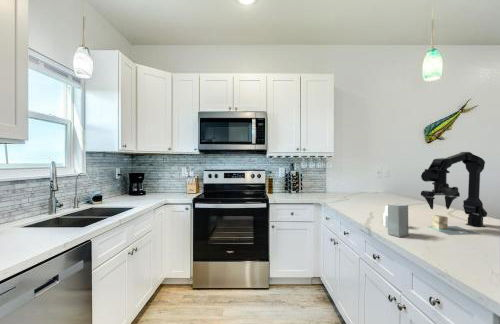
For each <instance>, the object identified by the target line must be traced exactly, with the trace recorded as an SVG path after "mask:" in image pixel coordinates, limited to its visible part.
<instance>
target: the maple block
mask: <svg viewBox="0 0 500 324" xmlns="http://www.w3.org/2000/svg"><path fill="white" fill-rule="evenodd" d="M431 218H432V220H431V221H432V222H431V223H432V224H431V226H432V228H435V229H437V230H448V226H449V225H448V224H449V223H448V222H449V221H448V220H449V218H448V217H447V216H445V215H442V214H441V215H435V214H434V215H432V216H431ZM432 228H431V229H432ZM437 230H436V231H437Z"/></svg>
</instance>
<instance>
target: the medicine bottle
mask: <svg viewBox="0 0 500 324" xmlns="http://www.w3.org/2000/svg"><path fill="white" fill-rule="evenodd" d="M382 216H383V219H382V221H383V222H382V224H383V226H384V227H385V228H387V229H388V205H385V207H384V212H383V215H382Z"/></svg>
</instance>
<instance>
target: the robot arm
mask: <svg viewBox="0 0 500 324" xmlns="http://www.w3.org/2000/svg"><path fill="white" fill-rule="evenodd" d="M460 162H461V163H463V164H464V165H465V169H466V170H467V172H468V187H467V188H468V189H467V191H468V192H467V194H468V195H467V198H466V199H464V200H463V201H462V202H463V205H462V207H463V211H464V213H465V215H468V217H467V222H466V223H465V225H467V226H470V227H473V228H485V227H486V225H484V218H486V217H487V215H488V212H487V210H486V209H485V208H484V205H483V201H482V200H481V199H480V183H481V173H482V172H483V170H484V169H485V164H486V161H485V160H484V158H482V157H480V156H479V155H475V154H473V153H472V152H471V151H461V152H459V153H456V154H454V155H450V156H447V157H440V158H434V159H433V160H432V162H431V164H430V165H429V166H428V168H425V169H424V171H422V173H421V176H420V178H421V180H422V181H423V182H432V185H433V189H432V190H421V192H420V196H422V197H423V198H424V199H425V201H426V202H427V204H428V206H429V207H430V209H431V210H434V200H435V198H436V197H434V196H444V201H445V208H446V210H449V209H450V207H451V205H452V203H453V201H454V200H455V199H458V197H461V196H460V195H461V193H460V192H459V188H458V186H453V187H451V186H450V185H449V183H447V182H448V181H447V180H448V179H447V175H448V174H451V173H450V170H448V169H450V168H451V167H452V165H454V164H458V163H460Z"/></svg>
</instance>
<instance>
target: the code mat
mask: <svg viewBox="0 0 500 324" xmlns="http://www.w3.org/2000/svg"><path fill="white" fill-rule="evenodd" d="M428 228H429V229H432V230H435V231H437V232H440V233H444V234H446V235H448V236H465V235H467V236H469V235H473V236H474V235H481V233H479V232H476V231H473V230H469V229H466V228H463V227H461V226H457V225H448V230H437V229H435V228H432V225H431V226H428Z"/></svg>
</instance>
